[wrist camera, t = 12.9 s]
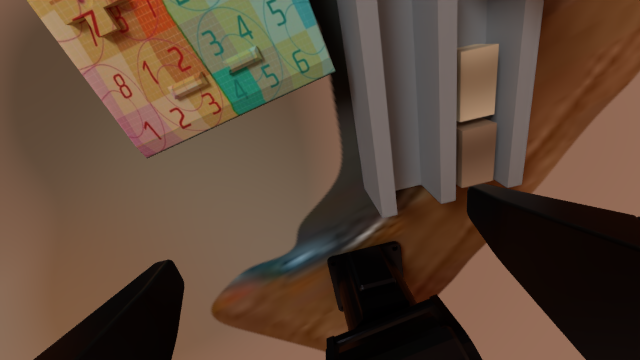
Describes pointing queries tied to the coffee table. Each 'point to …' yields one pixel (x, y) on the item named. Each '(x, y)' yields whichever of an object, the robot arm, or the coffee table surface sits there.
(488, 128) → the offcut dark
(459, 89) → the offcut light
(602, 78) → the coffee table surface
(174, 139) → the puzzle game
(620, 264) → the robot arm
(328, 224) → the coffee table surface
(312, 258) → the coffee table surface
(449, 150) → the rack
